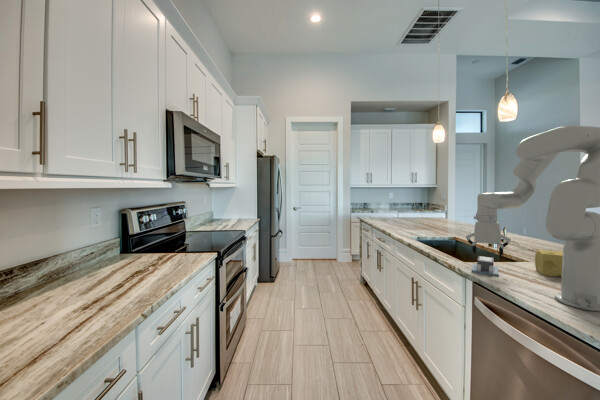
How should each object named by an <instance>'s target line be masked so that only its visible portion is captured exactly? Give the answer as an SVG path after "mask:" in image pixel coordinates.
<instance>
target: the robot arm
mask: <svg viewBox="0 0 600 400" xmlns="http://www.w3.org/2000/svg"><path fill="white" fill-rule="evenodd" d="M560 153H584V154H585V155H584V157H583V158H582V160H581V161H580V163H579V165H578V169H577V173H576V177H575V178H572V179H571V178H570V179H567V180H563V181H561V182H560V183H558V184H557V185H556V186H555V187H554V188H553V190H552V192H551V194H550V198H549V203H548V208H547V213H546V218H545V228H546V229H545V230H546V231H547V233H548V234H549V236H550V237H552V238H554V239H555V240H559V241H563V242H564V245H563V249H562V251H563V261H562V277H561V286H560V287H561V289H560V290H561V291H560V292H557V293H555V294H554V299H555V300H556V301H558V302H560V303H562V304H565V305H567V306H569V307H573V308H577V309H580V310H585V311H591V312H598V313H599V312H600V213H598V212H595V211H587V209H595V208H596V209H597V208H600V126H592V125H591V126H590V125H589V126H587V125H564V126H558V127H555V128H553V129H549V130H547V131H543V132H541V133H537V134H534V135H531V136H529V137H526V138H524V139H522V140H521V141H520V142H519V144H517V146H516V149H515V154H516V157H518V158H519V159H520V160H519V161H518V163H517V164H516V165H515V166H514V167H513V169H512V173H513V175H514V176H515V177H516V178H518V179H519V182H518V184H517V185H516V186H515V188H514V189H513V190H512V191H497V192H484V193H483V192H481V193H478V195H477V198H476V199H477V203H476V205H477V206H476V207H477V215H474V216H473V219H474V220H477V221H475V225H474V231H473V233H470V234H468V235H466V236H465V239H466V240H467V242H468V243H469V244H470V245H471V246H472V253H473V255H477V245H476V244H479V243H480V244H491V245H497V246H499V247H498V250H499V251H498V256H499V257H502V256H504V248H505V247H507V246H508V245H509V244H510V242H511V241H512V240H511V238H510V237H507V236H505V235H503V234H502V233H501V225H500V222H498V210H511V209H512V210H513V209H514V210H515V209H518V208H521V207H523V206H524V205H525V204H526V203H527V202H528V201H529V200H530V198H531V197H532V196H533V195H534V193H535V190H536V187H537V179H538V178H539V177H540V176H541V175H542V174H543V173H544V172H545V170H547V168H548V167H549V166H550V165H551V163H553V161H554V160H555V159H556V158H557V157H559V155H560ZM471 238H473V239H474V240H472V239H471ZM502 239H503V240H504V242H503V243H502Z"/></svg>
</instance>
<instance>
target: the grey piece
mask: <svg viewBox="0 0 600 400" xmlns="http://www.w3.org/2000/svg"><path fill="white" fill-rule="evenodd" d="M472 263H473V264H472V267H471V273H474V274H481V275H486V276H492V277H493V276H494V277H499V275H500V274H499V266H497V265H493V266H489V272H488V271H481V264H477V262H475V263H474V262H472Z"/></svg>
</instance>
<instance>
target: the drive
mask: <svg viewBox="0 0 600 400" xmlns="http://www.w3.org/2000/svg"><path fill="white" fill-rule="evenodd" d="M494 261H495V260H494V257H491V256H490V257H489V256H483V255H479V256H478V257H477V262H476V263H477V264H481V271H488V272H489V266H494V264H495V263H494Z"/></svg>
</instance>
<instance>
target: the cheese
mask: <svg viewBox="0 0 600 400" xmlns="http://www.w3.org/2000/svg"><path fill="white" fill-rule="evenodd" d="M562 261H563V250H562V251H561V250H560V251H557V250H556V251H555V250H543V249H536V251H535V256H534V266H535V270H536V271H537V272H539V273H540V274H541V275H542V276H547V277H560V278H562Z"/></svg>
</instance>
